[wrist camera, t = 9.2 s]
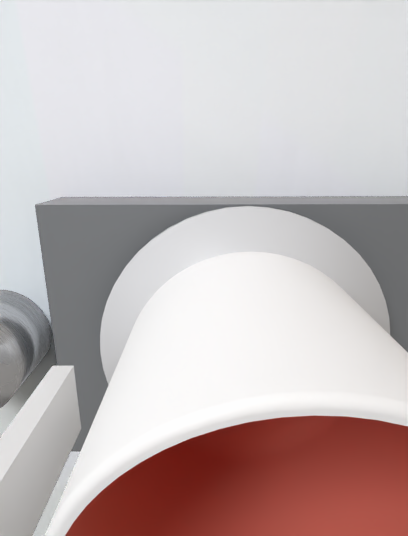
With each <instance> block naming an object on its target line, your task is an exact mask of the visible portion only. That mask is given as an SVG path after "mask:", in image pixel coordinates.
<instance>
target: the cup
mask: <svg viewBox="0 0 408 536" xmlns="http://www.w3.org/2000/svg"><path fill="white" fill-rule="evenodd" d="M45 536H408V352H407V351H406V350H405V349H404V348H403V347H402V346H401V345H400V344H399V343H397V342H396V341H395V340H394V339H393V338H392V337H391V336H390V335H389V334H388V333H387V332H386V331H385V330H384V329H383V328H382V327H381V326H380V325H379V324H378V323H377V322H376V321H375V320H374V319H373V318H372V317H371V316H370V315H369V314H368V313H367V312H366V311H365V310H364V309H363V308H362V307H361V306H359V305H358V304H357V303H356V302H355V301H354V300H353V299H352V298H351V297H350V296H349V295H348V294H347V293H346V292H345V291H344V290H343V289H342V288H341V287H340V286H339V285H338V284H337V283H335V282H334V281H333V280H332V279H331V278H329V277H328V276H326V275H325V274H324V273H322V272H321V271H319V270H317V269H316V268H314V267H312V266H310V265H308V264H306V263H304V262H301V261H299V260H296V259H293V258H290V257H286V256H283V255H279V254H273V253H267V252H235V253H229V254H223V255H219V256H215V257H212V258H209V259H205V260H203V261H201V262H198V263H196V264H194V265H191V266H190V267H188V268H186V269H184V270H183V271H181V272H179V273H178V274H176V275H175V276H173V277H172V278H171V279H169V280H168V281H167V282H166V283H165V284H164V285H162V286H161V287H160V288H159V289H158V290H157V291H156V292H155V294H154V295H153V296H152V297H151V298H150V299H149V301H148V302H147V303H146V305H145V306H144V308H143V309H142V311H141V312H140V314H139V316H138V318H137V320H136V322H135V324H134V326H133V329H132V331H131V333H130V336H129V338H128V341H127V343H126V345H125V348H124V350H123V352H122V355H121V357H120V359H119V362H118V364H117V367H116V369H115V371H114V374H113V376H112V378H111V381H110V383H109V385H108V388H107V390H106V393H105V395H104V397H103V400H102V402H101V404H100V407H99V409H98V411H97V414H96V416H95V418H94V421H93V423H92V426H91V428H90V430H89V433H88V435H87V437H86V440H85V442H84V444H83V447H82V449H81V452H80V454H79V456H78V459H77V461H76V463H75V466H74V468H73V470H72V473H71V475H70V478H69V480H68V482H67V485H66V487H65V489H64V492H63V494H62V496H61V499H60V501H59V503H58V506H57V508H56V511H55V513H54V515H53V518H52V520H51V522H50V525H49V527H48V529H47V532H46V534H45Z"/></svg>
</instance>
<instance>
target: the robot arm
mask: <svg viewBox="0 0 408 536" xmlns="http://www.w3.org/2000/svg"><path fill="white" fill-rule="evenodd" d="M80 430H81V422H80V414H79V406H78V397H77V389H76V381H75V373H74V366H52V367H51V368H50V370H49V371H48V372H47V374H46V375H45V377H44V378H43V379H42V381H41V382H40V383H39V385H38V386H37V388H36V389H35V390H34V392H33V393H32V394H31V396H30V397H29V399H28V400H27V401H26V403H25V404H24V405H23V407H22V408H21V409H20V411H19V412H18V414H17V415H16V416H15V418H14V419H13V420H12V422H11V423H10V425H9V426H8V427H7V429H6V430H5V431H4V433H3V434H2V436H1V437H0V536H32V535H33V533H34V531H35V529H36V527H37V524H38V522H39V520H40V518H41V516H42V513H43V511H44V509H45V507H46V505H47V503H48V500H49V498H50V496H51V494H52V492H53V489H54V487H55V485H56V483H57V481H58V478H59V476H60V474H61V472H62V470H63V467H64V465H65V463H66V461H67V459H68V457H69V454H70V452H71V450H72V448H73V446H74V443H75V441H76V439H77V437H78V435H79V432H80Z"/></svg>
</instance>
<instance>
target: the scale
mask: <svg viewBox="0 0 408 536" xmlns="http://www.w3.org/2000/svg"><path fill="white" fill-rule="evenodd" d="M35 208H36V215H37V222H38V230H39V237H40V244H41V251H42V259H43V266H44V273H45V280H46V288H47V295H48V302H49V309H50V317H51V324H52V331H53V338H54V346H55V353H56V360H57V366H74V373H75V381H76V389H77V397H78V406H79V414H80V422H81V430H80V432H79V435H78V437H77V439H76V441H75V443H74V446H73V448H72V450H71V451H81V449H82V447H83V444H84V442H85V440H86V437H87V435H88V433H89V430H90V428H91V426H92V423H93V421H94V418H95V416H96V414H97V411H98V409H99V407H100V404H101V402H102V400H103V397H104V395H105V393H106V390H107V388H108V385H109V383H110V381H111V378H112V376H113V374H114V371H115V369H116V367H117V364H118V362H119V359H120V357H121V355H122V352H123V350H124V348H125V345H126V343H127V341H128V338H129V336H130V333H131V331H132V329H133V326H134V324H135V322H136V320H137V318H138V316H139V314H140V312H141V311H142V309H143V308H144V306H145V305H146V303H147V302H148V301H149V299H150V298H151V297H152V296H153V295H154V294H155V292H156V291H157V290H158V289H159V288H160V287H161V286H162V285H164V284H165V283H166V282H167V281H168V280H169V279H171V278H172V277H173V276H175V275H176V274H178V273H179V272H181V271H183V270H184V269H186V268H188V267H190V266H191V265H194V264H196V263H198V262H201V261H203V260H205V259H209V258H212V257H215V256H219V255H223V254H229V253H235V252H267V253H273V254H279V255H283V256H286V257H290V258H293V259H296V260H299V261H301V262H304V263H306V264H308V265H310V266H312V267H314V268H316V269H317V270H319V271H321V272H322V273H324V274H325V275H326V276H328V277H329V278H331V279H332V280H333V281H334V282H335V283H337V284H338V285H339V286H340V287H341V288H342V289H343V290H344V291H345V292H346V293H347V294H348V295H349V296H350V297H351V298H352V299H353V300H354V301H355V302H356V303H357V304H358V305H359V306H361V307H362V308H363V309H364V310H365V311H366V312H367V313H368V314H369V315H370V316H371V317H372V318H373V319H374V320H375V321H376V322H377V323H378V324H379V325H380V326H381V327H382V328H383V329H384V330H385V331H386V332H387V333H388V334H389V335H390V336H391V337H392V338H393V339H394V340H395V341H396V342H397V343H399V344H400V345H401V346H402V347H403V348H404V349H405V350H406V351H407V352H408V196H389V197H61V198H57V199H54V200H50V201H47V202H43V203H40V204H36V205H35Z"/></svg>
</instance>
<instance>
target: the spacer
mask: <svg viewBox="0 0 408 536" xmlns="http://www.w3.org/2000/svg"><path fill="white" fill-rule="evenodd" d="M50 344H51V328H50V324H49V322H48V319H47V317H46V316H45V314H44V313H43V311H42V310H41V309H40V308H39V307H38V306H37V305H36V304H35V303H34V302H33V301H31V300H30V299H29V298H27V297H25V296H23V295H21V294H19V293H16V292H12V291H7V290H0V408H1V407H3V406H4V405H5V404H6V403H7V402H8V401H9V400H10V398H11V397H12V396H13V395H14V394H15V392H16V391H17V390H18V389H19V387H20V386H21V385H22V384H23V382H24V381H25V380H26V379H27V377H28V376H29V375H30V374H31V372H32V371H33V370H34V369H35V367H36V366H37V365H38V364H39V363H40V361H41V360H42V359H43V358H44V356H45V355H46V353H47V352H48V350H49V347H50Z"/></svg>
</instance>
